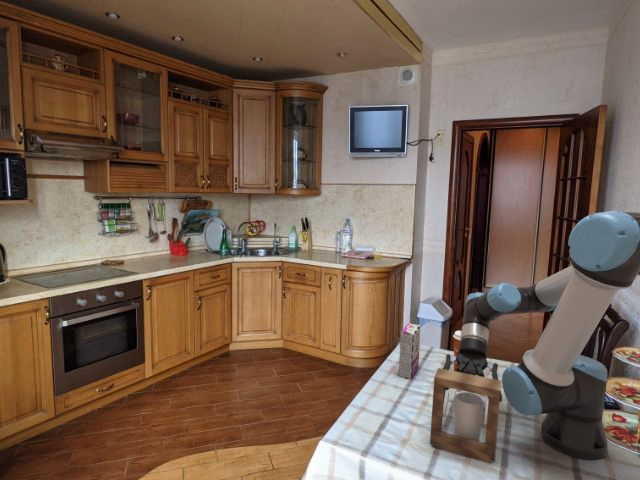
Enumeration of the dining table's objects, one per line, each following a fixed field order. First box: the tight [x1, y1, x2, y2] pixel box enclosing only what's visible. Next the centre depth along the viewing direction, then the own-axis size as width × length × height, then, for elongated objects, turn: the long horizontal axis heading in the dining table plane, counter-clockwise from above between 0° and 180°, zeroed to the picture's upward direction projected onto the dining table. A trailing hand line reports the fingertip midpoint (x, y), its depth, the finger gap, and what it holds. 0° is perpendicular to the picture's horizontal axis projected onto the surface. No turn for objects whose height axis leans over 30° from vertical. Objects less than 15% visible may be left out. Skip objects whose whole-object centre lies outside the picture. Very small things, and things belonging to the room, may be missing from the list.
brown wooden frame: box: [429, 367, 502, 464], centre depth 106 cm, size 15×7×18 cm, turn 65°
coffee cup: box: [452, 330, 471, 375], centre depth 150 cm, size 8×8×15 cm
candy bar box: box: [398, 323, 421, 380], centre depth 150 cm, size 11×5×16 cm, turn 155°
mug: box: [452, 391, 485, 442], centre depth 110 cm, size 10×7×12 cm, turn 15°
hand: (464, 420), depth 109 cm, fingers open, 10 cm apart
